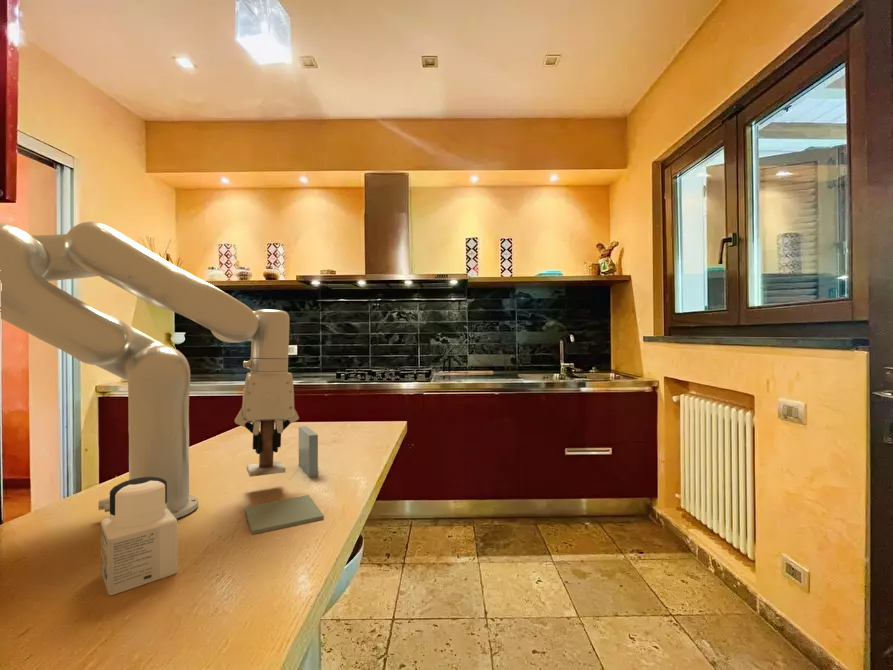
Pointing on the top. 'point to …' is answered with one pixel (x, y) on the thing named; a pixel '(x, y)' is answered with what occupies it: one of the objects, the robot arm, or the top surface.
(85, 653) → the top surface
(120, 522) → the container
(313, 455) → the tile
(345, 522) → the top surface
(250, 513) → the mat
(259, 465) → the brown upright post
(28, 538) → the top surface
